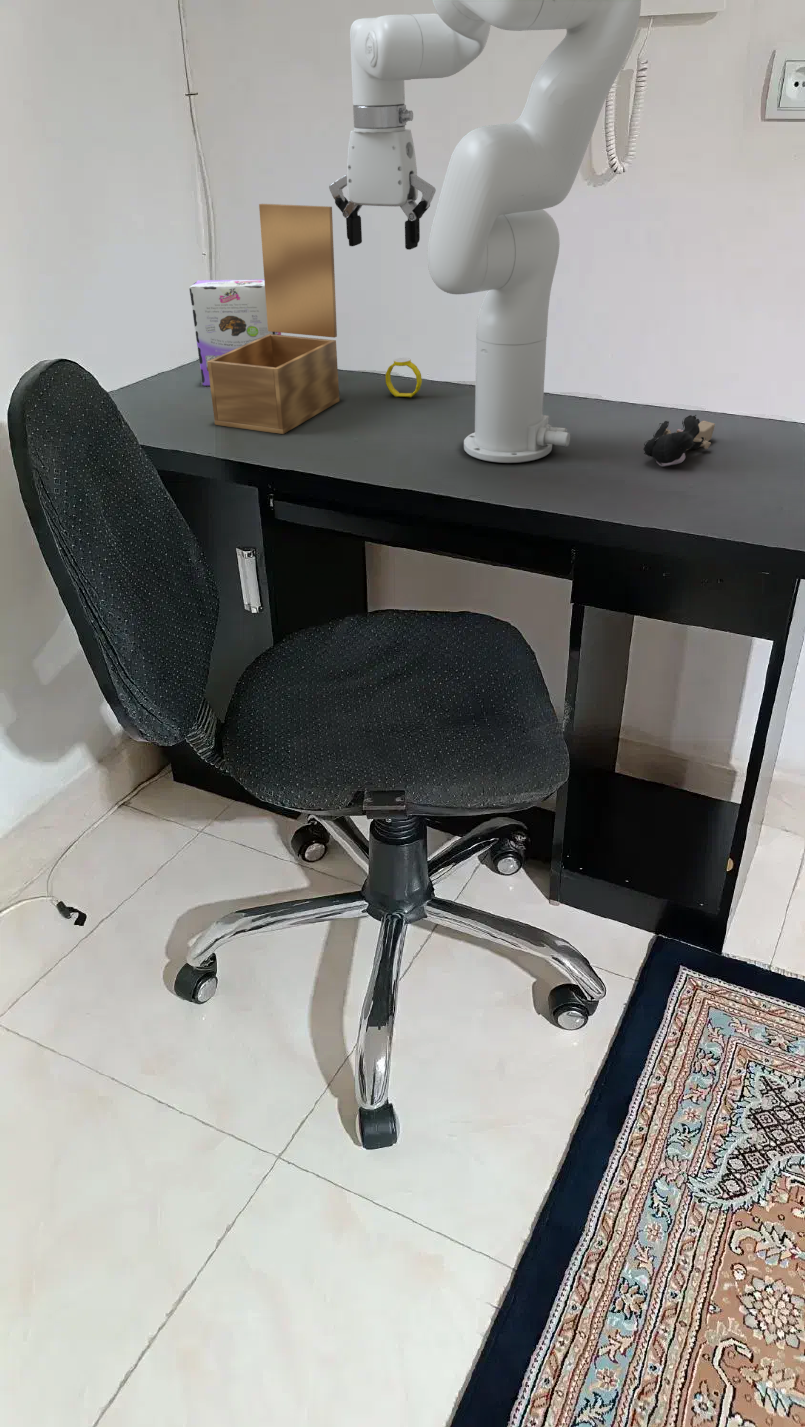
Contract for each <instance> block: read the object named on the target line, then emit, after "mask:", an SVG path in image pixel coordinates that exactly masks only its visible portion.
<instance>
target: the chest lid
mask: <svg viewBox="0 0 805 1427" xmlns="http://www.w3.org/2000/svg"><path fill="white" fill-rule="evenodd" d="M258 209H259V224H260V234H261V235H260V238H261V251H262V252H261V253H262V264H263V265H262V266H263V279H264V281H265V295H266V309H267V324H268V331H270V332H281V334H292V335H293V334H294V335H302V336H303V335H304V336H313V337H314V336H315V337H323V338H333V339H334V338H337V337H338V327H337V304H336V303H337V302H336V301H337V300H336V278H335V277H336V276H335V252H334V249H335V248H334V224H333V206H329V205H327V206H326V205H304V204H303V205H302V204H281V203H280V204H279V203H259V204H258Z"/></svg>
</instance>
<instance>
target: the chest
mask: <svg viewBox="0 0 805 1427" xmlns="http://www.w3.org/2000/svg"><path fill="white" fill-rule="evenodd" d="M207 364H208V372H209V380H210V386H209V387H210V394H211V396H210V397H211V403H212V404H211V405H212V412H213V419H214V420H213V421H214V425H215V426H219V427H220V426H221V427H228V428H235V429H244V430H251V431H257V432H266V433H271V434H279V435H280V434H281V435H285V434H286V433H287V432H290V431H291V430H293V429H295V428H297V427H298V426H299V425H301V424H303V423H305V422H306V421H309V420H310V419H311V418H313V417H315V416H317V415H318V414H321V413H322V412H323V411H325V410H327V409H328V408H331V407H332V406H334V405H336V404H337V403H339V402H340V389H339V388H340V387H339V386H340V385H339V384H340V383H339V369H338V352H337V340H336V339H327V338H318V337H317V338H316V337H306V336H297V335H296V336H295V335H286V334H285V335H284V334H281V335H276V334H268V335H266V336H264V337H261V338H259V339H257V340H255V341H252V342H250V343H248V344H246V345H243V346H241V347H239V348H236V349H234V350H232V351H230V352H227V353H225V354H223V355H221V356H218V357H216V358H214V359H211V360H209V361H207Z"/></svg>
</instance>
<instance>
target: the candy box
mask: <svg viewBox="0 0 805 1427" xmlns="http://www.w3.org/2000/svg"><path fill="white" fill-rule="evenodd" d="M188 289H189V295H190V303H191V310H192V318H193V326H194V333H195V339H196V347H197V354H198V362H199V368H200V375H201V376H200V377H201V386H203V387H204V386H205V387H210V380H209V372H208V364H207V361H209V360H211V359H214V358H216V357H218V356H221V355H223V354H225V353H227V352H230V351H232V350H234V349H236V348H239V347H241V346H243V345H246V344H248V343H250V342H252V341H255V340H257V339H259V338H261V337H264V336H266V335H268V334H276V335H282V333H281V332H270V331H268V324H267V309H266V295H265V281H264V278H260V279H258V278H255V279H202V280H201V279H197V281H196V282H194V283H192V285H190V286H189V287H188Z"/></svg>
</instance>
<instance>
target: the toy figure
mask: <svg viewBox="0 0 805 1427" xmlns="http://www.w3.org/2000/svg"><path fill="white" fill-rule="evenodd" d="M669 424H670V421H669V420H664V421H663V422H662V423H661V422H660V423H659V424H658V426H659V427H657V428H656V431H654V432H653V435H652V436H653V437H652V438H651V439H649V440H646V441H645V442H644V443H643V450H644V451H643V452H644V453H643V454H644V455H645V456H646V455H647V456H648V457H651V458H653V459H654V460H655V461H656V464H658V465H659V466H660V467H661V468H662V467H663V468H664V467H668V466H669V467H672V466H675V465H678V464H681V463H682V462H684V461H685V459H686V456H687V454H689V453H690V451H689V450H691V449H694V450H696V449H697V450H698V449H699V448H702V449H704V450H708V449H709V447H710V446H711V444H712V443H711V442H710V440H712V438H713V434H714V431H715V426H716V423H714V422H710V421H707V420H702V421H700V419H699V418H697V414H695V415H692V414H691V415H690V414H689V415H687V416H685V417H684V418H683V419H682V421H681V425H682V427H683V428H677V429H676V431H675V432H672V431H671V430H670V429H669ZM687 451H689V452H687ZM686 452H687V453H686Z"/></svg>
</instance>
